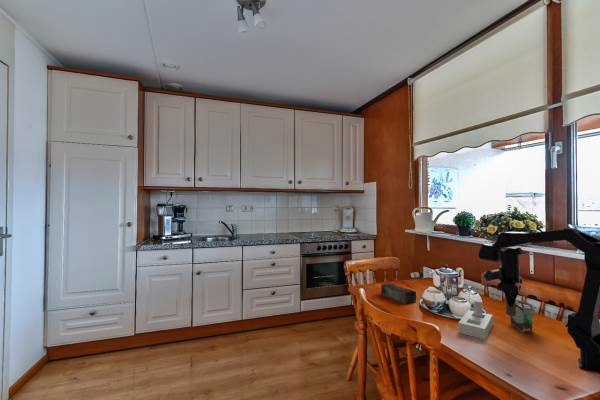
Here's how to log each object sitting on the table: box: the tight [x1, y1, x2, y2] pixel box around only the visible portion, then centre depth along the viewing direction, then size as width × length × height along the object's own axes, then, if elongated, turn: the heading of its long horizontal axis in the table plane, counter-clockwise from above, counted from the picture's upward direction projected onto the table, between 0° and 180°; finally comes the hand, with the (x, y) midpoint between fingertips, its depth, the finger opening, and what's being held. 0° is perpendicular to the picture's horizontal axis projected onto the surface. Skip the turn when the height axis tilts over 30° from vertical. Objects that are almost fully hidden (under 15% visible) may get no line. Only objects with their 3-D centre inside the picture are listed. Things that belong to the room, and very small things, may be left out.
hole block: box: [458, 309, 494, 340], centre depth 116 cm, size 18×9×4 cm, turn 138°
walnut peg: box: [505, 298, 517, 317], centre depth 108 cm, size 3×3×10 cm
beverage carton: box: [380, 283, 417, 305], centre depth 155 cm, size 8×19×7 cm, turn 25°
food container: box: [509, 299, 536, 334], centre depth 116 cm, size 12×6×10 cm, turn 168°
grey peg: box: [473, 299, 483, 318], centre depth 120 cm, size 3×3×10 cm
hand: (510, 305), depth 108 cm, fingers closed on walnut peg, 3 cm apart
